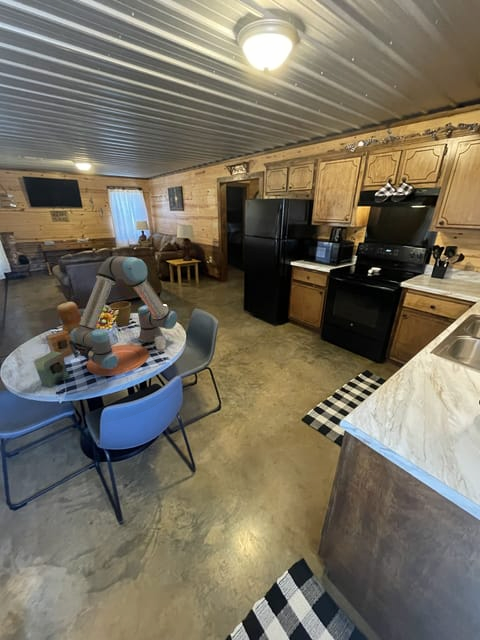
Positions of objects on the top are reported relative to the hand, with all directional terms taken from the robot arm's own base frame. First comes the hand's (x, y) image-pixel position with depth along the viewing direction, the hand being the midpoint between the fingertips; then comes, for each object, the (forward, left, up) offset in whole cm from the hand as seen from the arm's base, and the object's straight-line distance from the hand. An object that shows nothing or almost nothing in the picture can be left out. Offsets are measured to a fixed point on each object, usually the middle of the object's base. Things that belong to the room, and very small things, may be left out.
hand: (70, 342), depth 147 cm
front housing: (+18, +3, -12) cm, 22 cm away
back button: (-4, -9, -6) cm, 12 cm away
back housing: (-6, -12, -12) cm, 18 cm away
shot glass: (-22, +43, -12) cm, 49 cm away
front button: (+19, +6, -6) cm, 21 cm away
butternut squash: (-29, -21, -12) cm, 38 cm away
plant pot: (-53, 0, -12) cm, 54 cm away
